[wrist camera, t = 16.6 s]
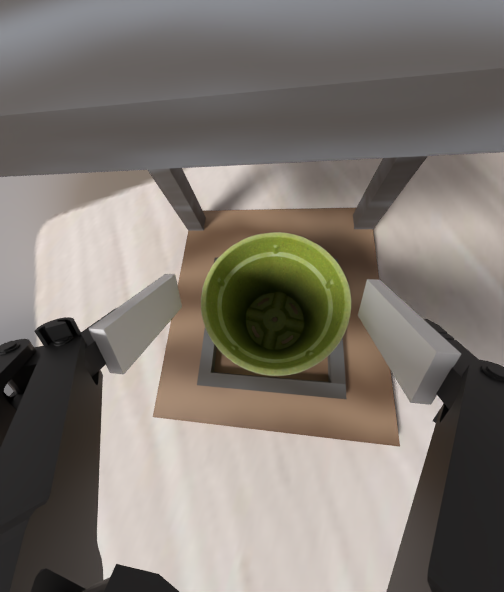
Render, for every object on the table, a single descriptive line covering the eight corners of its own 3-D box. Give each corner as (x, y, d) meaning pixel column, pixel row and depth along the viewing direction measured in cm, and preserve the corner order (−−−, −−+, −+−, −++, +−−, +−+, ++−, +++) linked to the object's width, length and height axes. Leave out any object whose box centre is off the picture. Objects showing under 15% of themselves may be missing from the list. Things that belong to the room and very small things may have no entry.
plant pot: (260, 389, 19) (249, 411, 11) (214, 308, 22) (177, 278, 14) (340, 334, 20) (387, 316, 11) (284, 264, 23) (290, 209, 14)
